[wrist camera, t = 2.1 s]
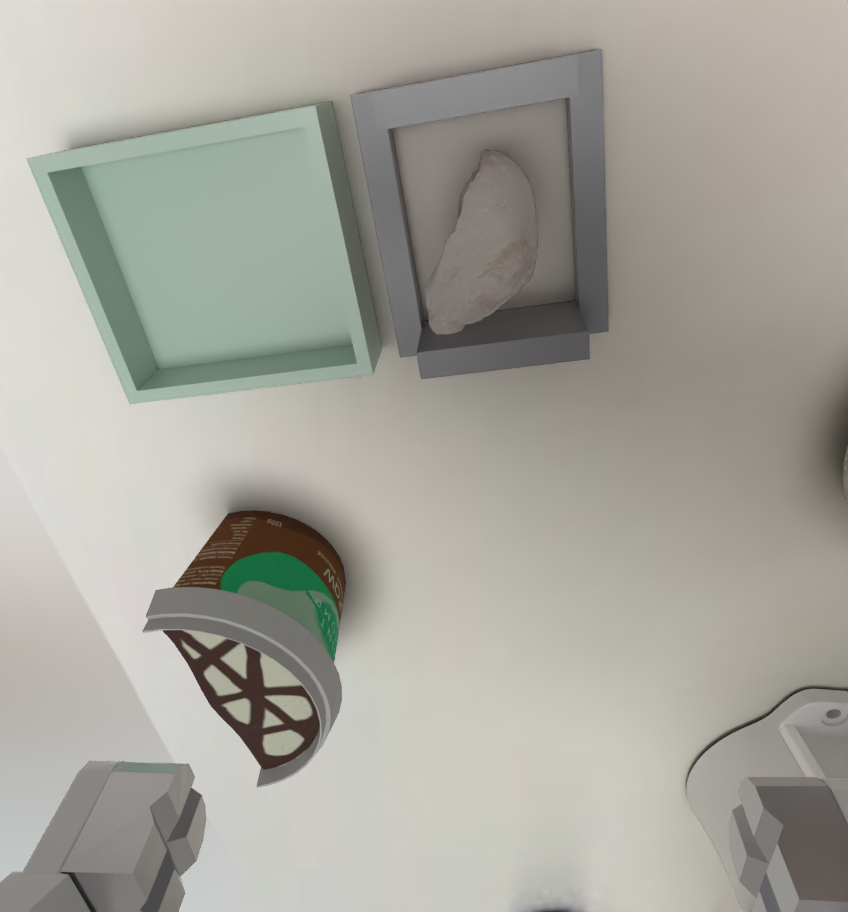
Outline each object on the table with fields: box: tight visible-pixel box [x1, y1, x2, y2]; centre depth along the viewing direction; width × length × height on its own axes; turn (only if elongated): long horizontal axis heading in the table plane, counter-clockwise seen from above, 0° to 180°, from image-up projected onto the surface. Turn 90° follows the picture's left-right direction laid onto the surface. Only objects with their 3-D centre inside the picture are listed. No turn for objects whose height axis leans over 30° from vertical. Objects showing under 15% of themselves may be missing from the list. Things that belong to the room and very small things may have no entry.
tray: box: [27, 101, 382, 404], centre depth 29 cm, size 12×11×3 cm
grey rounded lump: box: [426, 150, 538, 335], centre depth 24 cm, size 6×4×10 cm, turn 162°
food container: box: [143, 511, 346, 787], centre depth 35 cm, size 12×6×10 cm, turn 19°
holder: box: [350, 49, 609, 379], centre depth 27 cm, size 9×11×4 cm
